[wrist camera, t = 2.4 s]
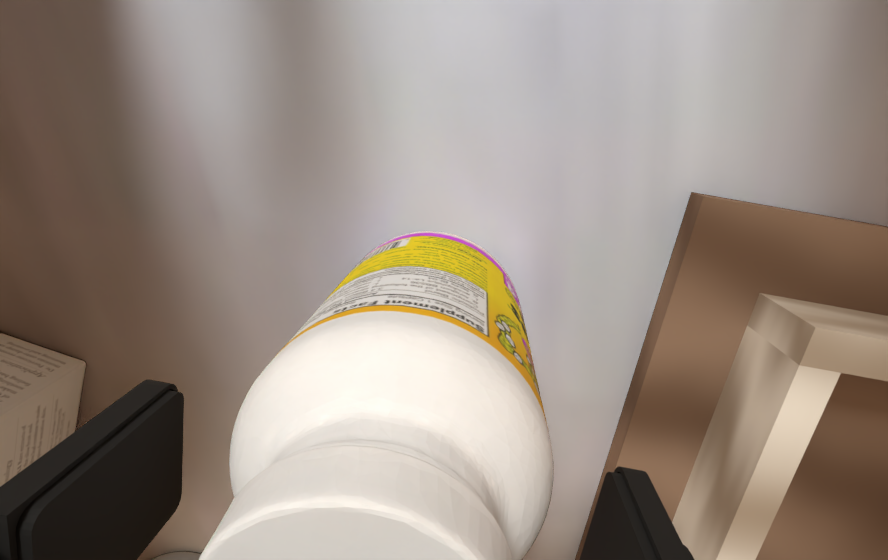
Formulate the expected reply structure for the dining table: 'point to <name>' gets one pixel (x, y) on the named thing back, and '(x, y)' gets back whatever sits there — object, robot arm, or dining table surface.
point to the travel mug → (179, 556)
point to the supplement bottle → (396, 420)
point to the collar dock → (766, 386)
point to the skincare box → (35, 402)
